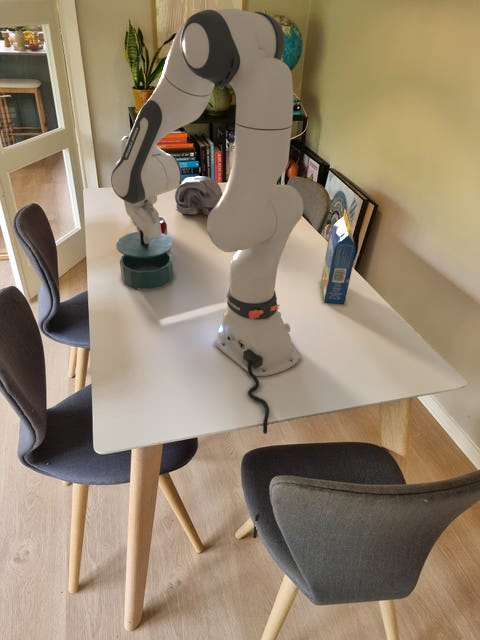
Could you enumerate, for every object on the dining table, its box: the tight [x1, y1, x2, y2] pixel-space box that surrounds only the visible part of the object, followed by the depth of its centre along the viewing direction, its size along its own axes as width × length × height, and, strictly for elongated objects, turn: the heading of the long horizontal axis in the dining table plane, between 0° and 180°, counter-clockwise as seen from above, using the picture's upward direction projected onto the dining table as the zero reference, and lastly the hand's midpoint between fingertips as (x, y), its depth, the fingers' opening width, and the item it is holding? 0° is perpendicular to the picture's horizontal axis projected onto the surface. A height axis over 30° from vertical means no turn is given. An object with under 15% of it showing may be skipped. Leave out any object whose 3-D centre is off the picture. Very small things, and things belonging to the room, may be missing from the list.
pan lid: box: [115, 230, 174, 258], centre depth 132 cm, size 17×17×5 cm
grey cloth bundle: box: [174, 175, 223, 216], centre depth 179 cm, size 20×18×15 cm
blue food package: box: [320, 209, 357, 306], centre depth 130 cm, size 6×12×25 cm, turn 176°
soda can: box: [159, 216, 168, 236], centre depth 150 cm, size 7×7×12 cm
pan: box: [119, 251, 174, 291], centre depth 138 cm, size 16×16×6 cm
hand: (144, 240), depth 133 cm, fingers closed on pan lid, 2 cm apart
